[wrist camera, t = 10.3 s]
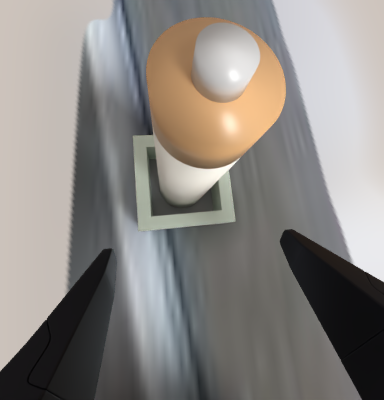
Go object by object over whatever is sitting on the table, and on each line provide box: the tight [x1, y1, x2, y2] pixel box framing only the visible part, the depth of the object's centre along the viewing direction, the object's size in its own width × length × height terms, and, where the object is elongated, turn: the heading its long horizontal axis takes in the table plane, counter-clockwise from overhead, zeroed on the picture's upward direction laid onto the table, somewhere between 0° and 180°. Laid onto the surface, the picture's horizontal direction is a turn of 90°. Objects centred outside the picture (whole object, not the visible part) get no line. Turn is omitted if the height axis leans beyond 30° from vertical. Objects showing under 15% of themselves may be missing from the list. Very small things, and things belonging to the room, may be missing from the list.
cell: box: [146, 17, 286, 208], centre depth 11 cm, size 4×4×14 cm
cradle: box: [133, 135, 236, 231], centre depth 17 cm, size 8×8×3 cm
